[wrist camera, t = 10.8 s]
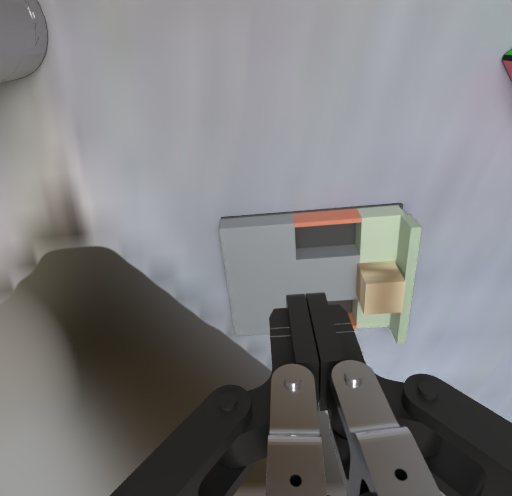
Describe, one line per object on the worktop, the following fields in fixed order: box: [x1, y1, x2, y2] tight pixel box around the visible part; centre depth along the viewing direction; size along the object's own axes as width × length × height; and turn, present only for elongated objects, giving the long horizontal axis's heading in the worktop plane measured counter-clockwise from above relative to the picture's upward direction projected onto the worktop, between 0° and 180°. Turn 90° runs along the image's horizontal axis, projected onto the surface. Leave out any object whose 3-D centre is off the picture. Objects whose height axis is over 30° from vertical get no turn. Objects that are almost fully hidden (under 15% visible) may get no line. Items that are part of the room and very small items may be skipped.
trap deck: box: [219, 203, 422, 344], centre depth 44 cm, size 20×15×6 cm
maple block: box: [356, 261, 406, 315], centre depth 42 cm, size 4×4×4 cm
